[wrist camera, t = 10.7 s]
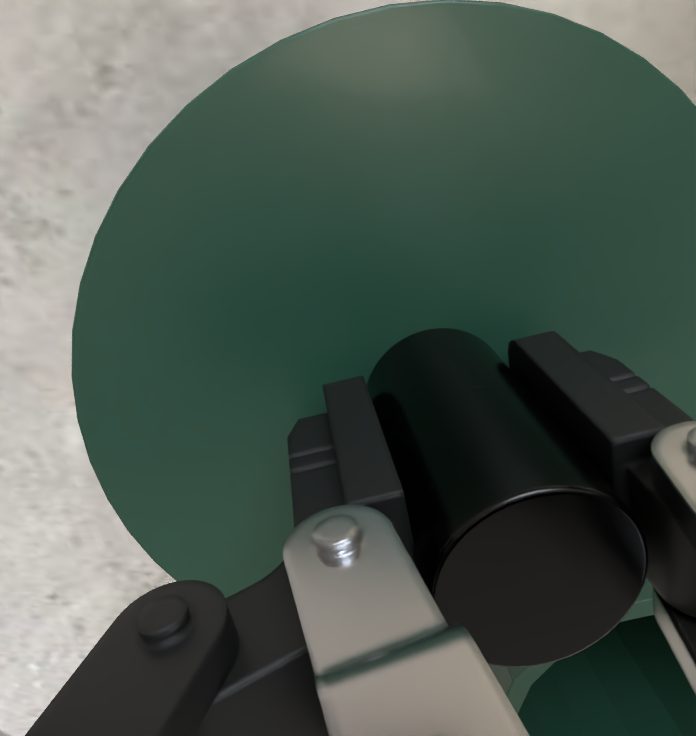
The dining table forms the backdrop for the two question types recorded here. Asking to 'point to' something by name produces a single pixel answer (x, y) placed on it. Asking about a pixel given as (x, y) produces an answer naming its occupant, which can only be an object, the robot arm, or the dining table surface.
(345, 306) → the lid
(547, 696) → the pot
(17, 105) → the dining table surface
